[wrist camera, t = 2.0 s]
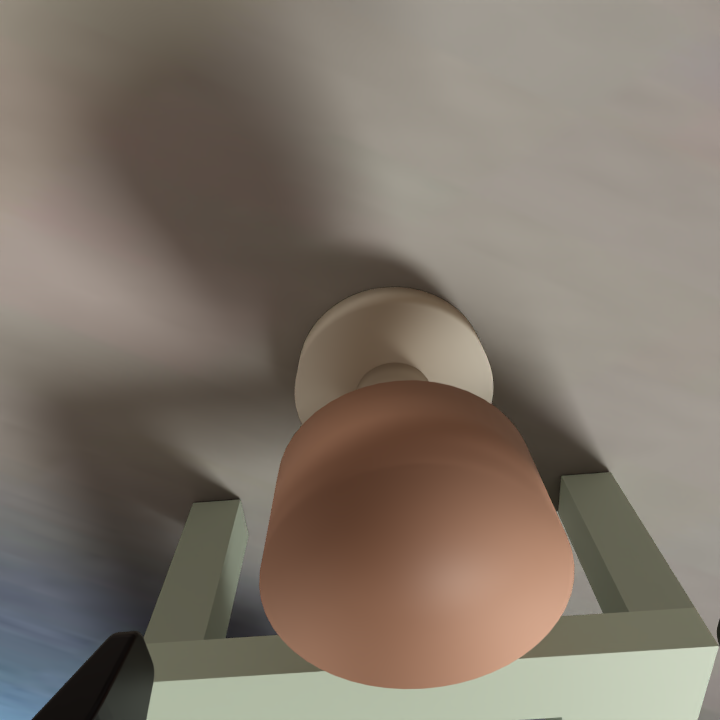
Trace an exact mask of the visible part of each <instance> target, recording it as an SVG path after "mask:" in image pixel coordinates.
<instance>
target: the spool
mask: <svg viewBox="0 0 720 720" xmlns="http://www.w3.org/2000/svg"><path fill="white" fill-rule="evenodd" d="M492 398H493V376H492V371H491V367H490V364H489V361H488V359H487V356H486V354H485V351H484V349H483V347H482V345H481V342H480V340H479V338H478V336H477V334H476V332H475V330H474V329H473V327H472V325H471V324H470V323H469V321H468V320H467V319H466V318H465V316H464V315H463V314H462V313H461V312H459V311H458V310H457V309H456V308H455V307H454V306H452V305H451V304H449V303H448V302H447V301H445V300H443V299H441V298H439V297H437V296H436V295H433V294H430V293H427V292H425V291H421V290H417V289H413V288H405V287H383V288H376V289H371V290H367V291H363V292H360V293H357V294H355V295H352V296H350V297H348V298H346V299H344V300H342V301H341V302H339V303H337V304H336V305H335V306H333V307H332V308H331V309H329V310H328V311H327V312H326V313H325V314H324V315H323V316H322V317H321V318H320V319H319V320H318V321H317V322H316V324H315V325H314V326H313V328H312V329H311V331H310V332H309V334H308V336H307V338H306V340H305V342H304V345H303V347H302V350H301V355H300V359H299V364H298V370H297V375H296V380H295V404H296V409H297V413H298V416H299V419H300V421H301V424H302V426H301V427H300V428H299V429H298V431H297V432H296V433H295V434H294V436H293V437H292V439H291V441H290V442H289V444H288V446H287V448H286V450H285V452H284V455H283V457H282V460H281V463H280V468H279V472H278V477H277V482H276V488H275V493H274V499H273V504H272V509H271V515H270V520H269V525H268V531H267V536H266V542H265V547H264V552H263V558H262V563H261V568H260V582H259V588H260V595H261V601H262V604H263V607H264V610H265V613H266V616H267V618H268V619H269V621H270V623H271V625H272V627H273V628H274V630H275V631H276V632H277V634H278V635H279V637H280V638H281V639H282V640H283V641H284V642H285V643H286V644H287V645H288V646H289V647H290V648H291V649H292V650H293V651H294V652H295V653H297V654H298V655H299V656H300V657H302V658H303V659H304V660H306V661H307V662H309V663H311V664H312V665H314V666H316V667H318V668H319V669H321V670H323V671H326V672H328V673H330V674H332V675H334V676H337V677H340V678H343V679H346V680H349V681H352V682H356V683H360V684H364V685H369V686H375V687H382V688H393V689H425V688H435V687H443V686H448V685H453V684H459V683H462V682H466V681H469V680H473V679H476V678H479V677H482V676H484V675H487V674H490V673H492V672H494V671H496V670H499V669H501V668H503V667H505V666H507V665H509V664H510V663H512V662H514V661H515V660H517V659H518V658H520V657H522V656H523V655H525V654H526V653H527V652H528V651H530V650H531V649H532V648H534V647H535V646H536V645H537V644H538V643H539V642H540V641H541V640H542V639H543V638H544V637H545V636H546V635H547V634H548V633H549V632H550V631H551V630H552V628H553V627H554V626H555V624H556V623H557V622H558V620H559V619H560V617H561V615H562V613H563V612H564V610H565V608H566V606H567V603H568V601H569V598H570V596H571V592H572V587H573V582H574V560H573V554H572V549H571V546H570V543H569V541H568V538H567V535H566V533H565V531H564V528H563V526H562V524H561V522H560V520H559V517H558V515H557V513H556V511H555V508H554V506H553V504H552V502H551V499H550V497H549V495H548V493H547V490H546V488H545V486H544V484H543V481H542V479H541V477H540V475H539V472H538V470H537V468H536V466H535V463H534V461H533V459H532V457H531V455H530V452H529V450H528V448H527V446H526V443H525V441H524V440H523V438H522V436H521V434H520V433H519V431H518V430H517V428H516V427H515V426H514V425H513V423H512V422H511V421H510V420H509V418H507V417H506V416H505V415H504V414H503V413H502V412H501V411H500V410H499V409H498V408H496V407H495V406H493V405H492V404H491V403H492Z"/></svg>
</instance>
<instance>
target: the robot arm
mask: <svg viewBox="0 0 720 720" xmlns="http://www.w3.org/2000/svg"><path fill="white" fill-rule="evenodd" d="M717 638H718V642H719V646H720V620H719V623H718V627H717ZM153 682H154V665H153V661H152V659H151V656H150V653H149V651H148V648H147V646H146V643H145V640H144V638H143V636H142V634H141V633H139V632H138V631H131V632H118V633H114V634H113V635H111V636H110V637H109V638H108V639H107V640H106V641H105V642H104V643H103V644H102V645H101V646H100V647H99V648H98V649H97V650H96V651H95V652H94V653H93V655H92V656H91V657H90V658H89V659H88V660H87V661H86V662H85V663H84V664H83V665H82V666H81V667H80V668H79V670H78V671H77V672H76V673H75V674H74V675H73V676H72V677H71V678H70V679H69V680H68V681H67V682H66V683H65V684H64V686H63V687H62V688H61V689H60V690H59V691H58V692H57V693H56V694H55V695H54V696H53V697H52V698H51V699H50V700H49V702H48V703H47V704H46V705H45V706H44V707H43V708H42V709H41V710H40V711H39V712H38V713H37V714H36V715H35V716H34V718H33V719H32V720H146V719H147V714H148V709H149V703H150V698H151V693H152V688H153Z"/></svg>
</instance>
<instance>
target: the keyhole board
mask: <svg viewBox="0 0 720 720" xmlns="http://www.w3.org/2000/svg"><path fill="white" fill-rule="evenodd" d="M558 514H559V516H560V519H561V521H562V523H563V525H564V527H565V530H566V532H567V534H568V536H569V539H570V541H571V543H572V545H573V547H574V550H575V552H576V554H577V556H578V559H579V561H580V563H581V565H582V567H583V570H584V572H585V574H586V576H587V579H588V581H589V583H590V585H591V587H592V590H593V592H594V594H595V596H596V599H597V601H598V603H599V605H600V607H601V610H602V612H603V614H590V615H575V616H561V617H560V619H559V620H558V622H557V623H556V624H555V626H554V627H553V628H552V630H551V631H550V632H549V633H548V634H547V635H546V636H545V637H544V638H543V639H542V640H541V641H540V642H539V643H538V644H537V645H536V646H535V647H534V648H532V649H531V650H530V651H528V652H527V653H526V654H525V655H523V656H522V657H520V658H518V659H517V660H515V661H514V662H512V663H510V664H509V665H507V666H505V667H503V668H501V669H499V670H496V671H494V672H492V673H490V674H487V675H484V676H482V677H479V678H476V679H473V680H469V681H466V682H462V683H459V684H453V685H448V686H443V687H435V688H425V689H393V688H382V687H375V686H369V685H364V684H360V683H356V682H352V681H349V680H346V679H343V678H340V677H337V676H334V675H332V674H330V673H328V672H326V671H323V670H321V669H319V668H318V667H316V666H314V665H312V664H311V663H309V662H307V661H306V660H304V659H303V658H302V657H300V656H299V655H298V654H297V653H295V652H294V651H293V650H292V649H291V648H290V647H289V646H288V645H287V644H286V643H285V642H284V641H283V640H282V639H281V638H280V637H279V635H271V636H255V637H240V638H226V634H227V629H228V625H229V620H230V616H231V611H232V607H233V603H234V598H235V594H236V589H237V585H238V580H239V576H240V571H241V567H242V562H243V558H244V554H245V549H246V545H247V540H248V536H249V535H248V531H247V526H246V522H245V518H244V513H243V509H242V505H241V500H226V501H213V502H199V503H193V505H192V507H191V510H190V513H189V516H188V518H187V521H186V524H185V526H184V529H183V532H182V535H181V537H180V540H179V543H178V546H177V548H176V551H175V554H174V556H173V559H172V562H171V565H170V567H169V570H168V573H167V576H166V578H165V581H164V584H163V586H162V589H161V592H160V595H159V597H158V600H157V603H156V606H155V608H154V611H153V614H152V616H151V619H150V622H149V625H148V627H147V630H146V633H145V636H144V640H145V643H146V646H147V648H148V651H149V653H150V656H151V659H152V661H153V665H154V682H153V688H152V693H151V698H150V703H149V709H148V714H147V719H146V720H525V719H541V718H546V720H698V716H699V713H700V709H701V706H702V703H703V699H704V696H705V692H706V689H707V685H708V682H709V678H710V675H711V671H712V668H713V664H714V661H715V658H716V654H717V651H718V647H719V646H718V644H717V642H716V641H715V639H714V638H713V636H712V634H711V633H710V631H709V630H708V628H707V626H706V625H705V623H704V622H703V620H702V618H701V617H700V615H699V614H698V612H697V610H696V609H695V607H694V605H693V604H692V602H691V601H690V599H689V597H688V596H687V594H686V593H685V591H684V589H683V588H682V586H681V585H680V583H679V581H678V580H677V578H676V577H675V575H674V573H673V572H672V570H671V569H670V567H669V565H668V564H667V562H666V560H665V559H664V557H663V556H662V554H661V552H660V551H659V549H658V548H657V546H656V544H655V543H654V541H653V540H652V538H651V536H650V535H649V533H648V532H647V530H646V528H645V527H644V525H643V524H642V522H641V520H640V519H639V517H638V516H637V514H636V512H635V511H634V509H633V507H632V506H631V504H630V503H629V501H628V499H627V498H626V496H625V495H624V493H623V491H622V490H621V488H620V487H619V485H618V483H617V482H616V480H615V479H614V477H613V475H612V474H611V472H607V473H593V474H579V475H566V476H561V486H560V497H559V509H558Z"/></svg>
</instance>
